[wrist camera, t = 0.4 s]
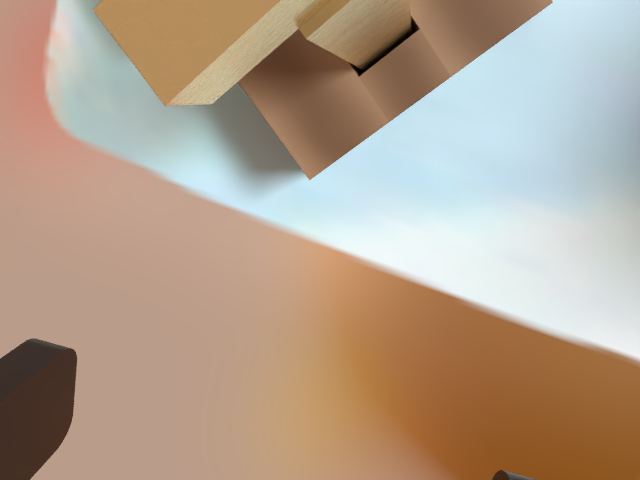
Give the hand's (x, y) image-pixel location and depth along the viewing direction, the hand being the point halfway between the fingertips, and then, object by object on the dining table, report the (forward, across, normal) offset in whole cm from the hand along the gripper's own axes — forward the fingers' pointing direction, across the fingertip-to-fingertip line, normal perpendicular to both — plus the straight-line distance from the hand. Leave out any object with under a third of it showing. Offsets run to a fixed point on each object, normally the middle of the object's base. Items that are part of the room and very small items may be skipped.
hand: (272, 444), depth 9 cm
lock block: (+22, +1, -10) cm, 24 cm away
